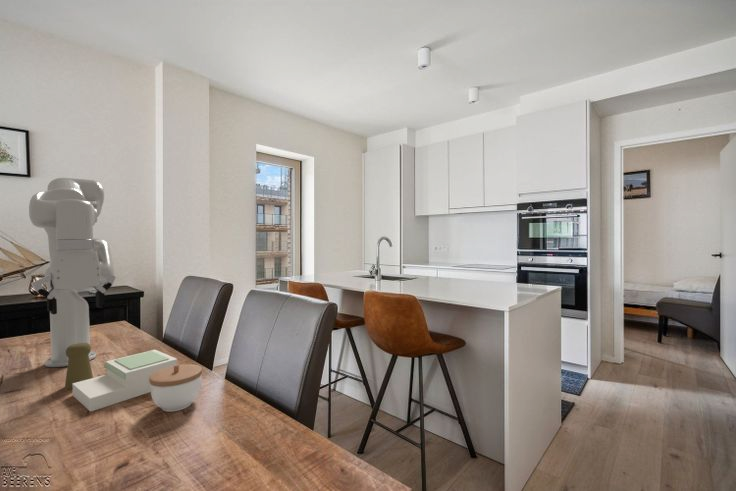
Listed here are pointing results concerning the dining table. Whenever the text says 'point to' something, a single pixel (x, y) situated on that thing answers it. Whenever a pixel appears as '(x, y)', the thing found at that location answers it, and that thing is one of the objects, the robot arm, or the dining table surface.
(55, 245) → the robot arm
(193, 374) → the lidded jar
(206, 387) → the dining table surface
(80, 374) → the cork
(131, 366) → the platform
